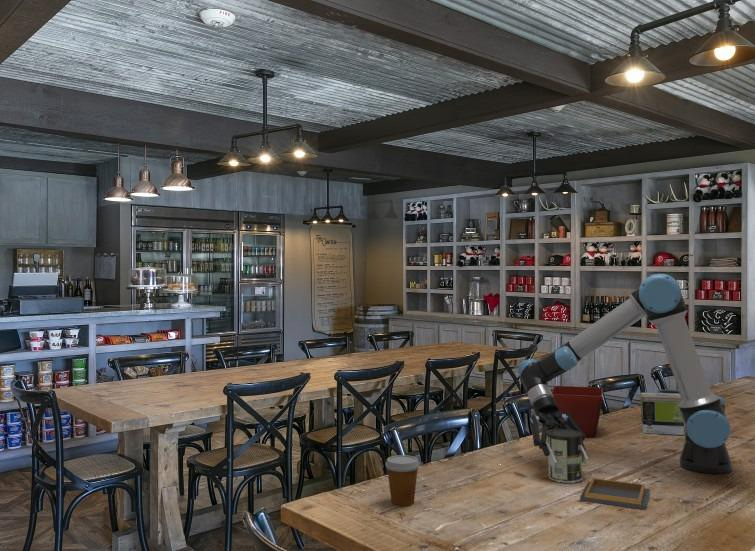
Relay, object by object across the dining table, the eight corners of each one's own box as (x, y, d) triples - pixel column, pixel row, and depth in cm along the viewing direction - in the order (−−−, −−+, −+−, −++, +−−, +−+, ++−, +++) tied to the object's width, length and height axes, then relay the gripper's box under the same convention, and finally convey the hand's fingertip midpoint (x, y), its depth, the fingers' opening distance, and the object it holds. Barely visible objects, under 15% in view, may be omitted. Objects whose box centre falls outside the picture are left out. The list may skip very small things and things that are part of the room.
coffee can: (580, 473, 206) (580, 429, 206) (584, 484, 196) (583, 437, 196) (546, 472, 208) (546, 428, 208) (548, 482, 198) (548, 436, 198)
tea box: (681, 430, 261) (681, 393, 261) (684, 436, 252) (684, 397, 252) (641, 427, 266) (640, 391, 266) (642, 433, 257) (641, 395, 257)
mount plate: (649, 492, 188) (649, 484, 188) (645, 509, 175) (645, 501, 175) (588, 484, 196) (588, 477, 196) (580, 500, 182) (580, 492, 182)
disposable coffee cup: (409, 510, 176) (408, 466, 176) (379, 504, 181) (378, 461, 181) (425, 500, 184) (425, 457, 184) (396, 494, 189) (396, 452, 189)
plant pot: (550, 436, 253) (549, 393, 253) (554, 425, 271) (554, 385, 271) (602, 440, 247) (602, 396, 246) (603, 429, 264) (603, 387, 264)
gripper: (569, 406, 220) (597, 465, 205) (507, 410, 214) (532, 472, 199) (577, 393, 215) (607, 453, 200) (515, 397, 209) (541, 459, 194)
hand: (570, 463), depth 199 cm, fingers closed on coffee can, 10 cm apart
